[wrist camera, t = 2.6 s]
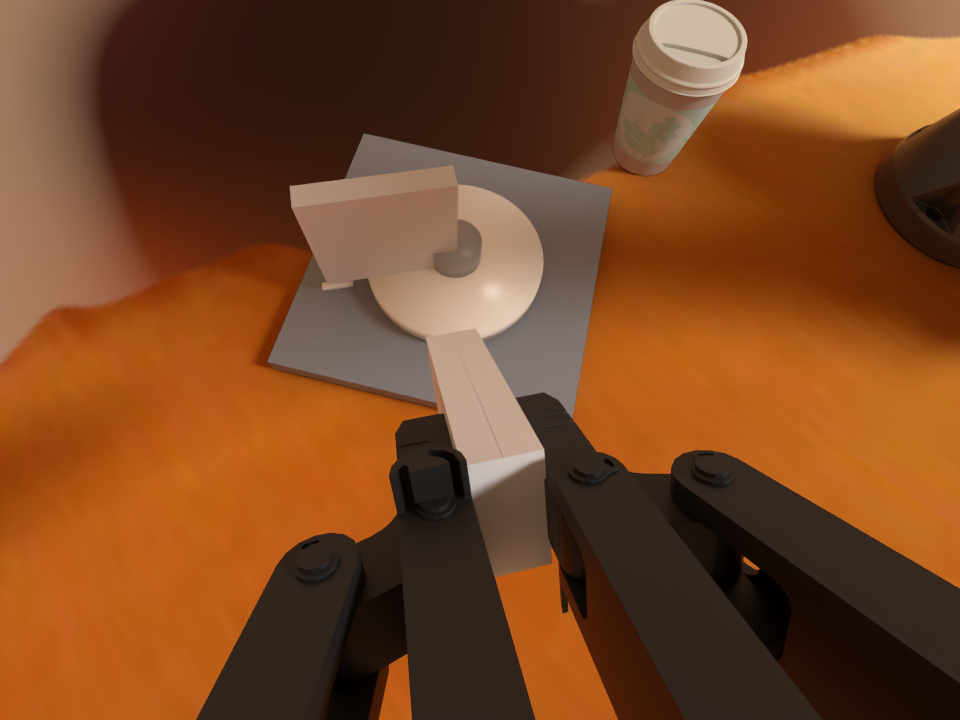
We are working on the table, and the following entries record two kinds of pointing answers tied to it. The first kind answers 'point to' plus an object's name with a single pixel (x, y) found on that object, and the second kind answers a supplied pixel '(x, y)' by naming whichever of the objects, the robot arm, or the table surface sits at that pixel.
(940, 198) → the robot arm
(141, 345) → the table surface
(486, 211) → the dial
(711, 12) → the coffee cup
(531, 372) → the dial plate
